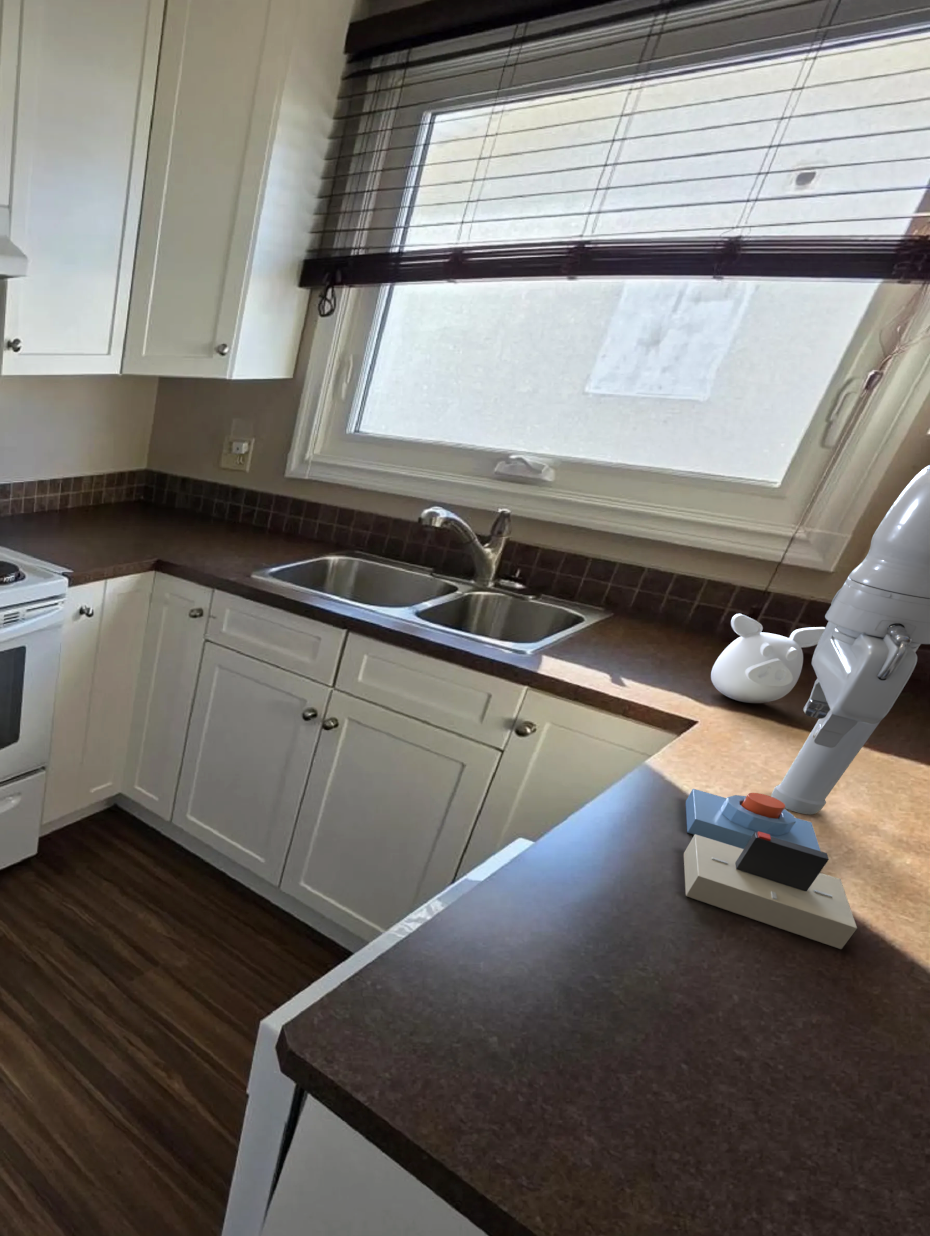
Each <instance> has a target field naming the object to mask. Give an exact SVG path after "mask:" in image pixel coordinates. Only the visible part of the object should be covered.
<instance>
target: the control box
mask: <svg viewBox="0 0 930 1236" xmlns="http://www.w3.org/2000/svg"><path fill="white" fill-rule="evenodd" d="M743 850H744V849H741V848H738V847H735V846H732V845H728V844H725V843H722V842H719V841H716V840H712V839H709V838H706V837H703V836H699V835H696V834H695V835H694V834H693V837H692V838H691V840H690V842H689V844H688V845H687V847H686V849H685V850H684V852H683V863H684V864H683V868H684V888H685V897H688V898H690V899H693V900H696V901H698V902H701V903H705V904H707V905H710V906H713V907H716V908H720V909H722V910H725V911H729V912H731V913H734V914H736V915H740V916H743V917H746V918H748V919H752V920H754V921H758V922H761V923H763V924H766V925H769V926H772V927H775V928H778V929H781V930H784V931H786V932H790V933H792V934H795V935H798V936H801V937H804V938H807V939H809V940H812V941H815V942H818V943H822V944H825V945H828V946H831V947H833V948H835V949H839V950H842V949H843V948H844V947H845V945H846V944H847V943H848V941H849V940H850V939H851V937H852V936H853V935H854V933H855V932H856V931H857V929H858V927H857V923H856V921H855V917H854V914H853V912H852V909H851V905H850V903H849V900H848V897H847V893H846V891H845V889H844V885H843V882H842V879H841V878H838V877H836V876H832V875H829V874H825V873H822V872H820V873H819V875H818V876H817V877H816V879H815V880H814V882H813V883H812V885H811V886H810V887H809V889H808V890H807V891H803V890H800V889H797V888H794V887H791V886H787V885H784V884H781V883H778V882H775V881H772V880H769V879H766V878H762V877H759V876H756V875H753V874H750V873H747V872H744V871H741V870H738V869H736V865H735V862H736V861H737V859H738V858H739V856H740V854H741V853H742V851H743Z"/></svg>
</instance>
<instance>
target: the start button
mask: <svg viewBox="0 0 930 1236" xmlns="http://www.w3.org/2000/svg"><path fill="white" fill-rule="evenodd" d="M745 796H746V798H745V800H744V801H743V803H742V805H741V806H742V807H744V808H745V809H746V810H748V811H751V812H753V813H755V814H758V815H761V816H765V817H768V818H776V819H777V818H778V817H779V816H780V814H781V813H782V811H783V810H784V809H786V808H785V804H784V803H783V802H781V801H779V800H778V799H776V798H773V797H771V796H770V795H767V794H764V793H759V792H749V793H747V794H746V795H745Z"/></svg>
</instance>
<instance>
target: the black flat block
mask: <svg viewBox="0 0 930 1236" xmlns="http://www.w3.org/2000/svg"><path fill="white" fill-rule="evenodd" d="M829 860H830V859H829V855H828V852H826V851H825V852H824V851H822V850H820V851H818V850H815V849H811V848H808V847H805V846H801V845H798V844H795V843H791V842H788V841H785V840H781V839H778V838H774V837H771V836H770V834H766V833H763V832H760V831H758V832H754V834H753V835H752V837H751V839H750V840H749V842H748V843H747V845H746V846H745V848H744V850H743V851H742V853H741V854H740V856H739V858H738V859H737V861H736V862H735V865H736V869H738V870H741V871H744V872H747V873H750V874H753V875H756V876H759V877H762V878H766V879H769V880H772V881H775V882H778V883H781V884H784V885H787V886H791V887H794V888H797V889H800V890H803V891H807V890H808V889H809V887H810V886H811V885H812V883H813V882H814V880H815V879H816V877H817V876H818V875H819V873H822V870H823V869H824V868H825V866H826V865H827V863H828V862H829Z"/></svg>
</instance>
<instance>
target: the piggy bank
mask: <svg viewBox="0 0 930 1236" xmlns="http://www.w3.org/2000/svg"><path fill="white" fill-rule="evenodd" d="M730 626H731V629H732V630H733V632H734V633H736V634H737V635H738V636H739V637H737V638H736V639H734V640H733V641H732V642H730V644H728V645H727V646H726V647H725V648H724V650H723V651H722V652H721V653H720V654H719V656H718V657H717V659H716V660H715V662H714V664H713V665H712V668H711V672H710V680H711V683H712V685H713V686H714V688H715V689H716V690H717V691H718V692H719V693H721V694H722V695H724V696H725V697H727V698H729V699H730V700H731V699H732V700H733V701H734V700H735V701H737V702H740V703H741V702H742V703H747V704H765V703H766V704H767V703H771V702H775V701H777V700H780V699H782V698H784V697H785V696H787V695H788V694H789V693H790V692H791V691H792V690H793V689H794V687H795V686H796V685H797V684H798V683H797V682H798V681H799V678H800V677H801V673H802V670H803V664H804V652H803V649H802V648H810V647H814V646H817V644H818V642H819V640H820V638H821V636H822V634H823V632H824V630H825V628H826V626H816V627H815V626H813V627H802V628H798V629H795V630H793V631H792V632H791V633H790V635H789V637H787V636H783V635H780V634H776V633H770V632H764V631H763V629H764V627H763V625H762V623H761V622H759V621H757V620H756V619H754V618H751V617H749V616H747V615H745V614H742V613H736V614H734V615H733V616H732V617H731V620H730ZM762 631H763V632H762Z"/></svg>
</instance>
